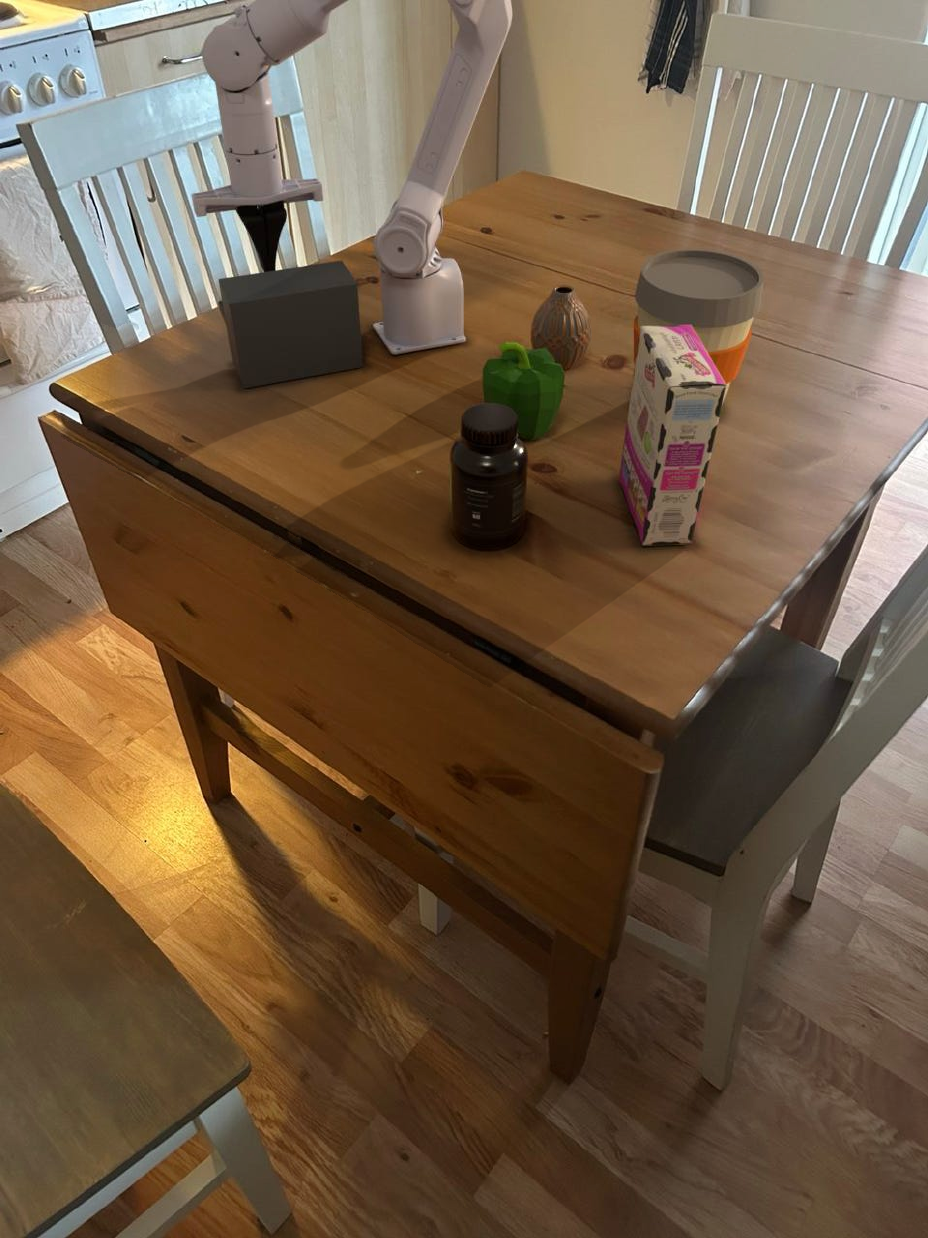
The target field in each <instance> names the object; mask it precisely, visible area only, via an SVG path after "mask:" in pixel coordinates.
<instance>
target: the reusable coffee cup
mask: <svg viewBox="0 0 928 1238" xmlns="http://www.w3.org/2000/svg"><path fill="white" fill-rule="evenodd" d="M763 287H764V275H763V273H762V271H761V270H760V268H758V266H756V264H753V263H752V262H750V261H749V260H747V259H745V258H742V257H740V256H737V255H734V254H732V253H726V252H723V251H718V250H712V249H702V248H701V249H700V248H683V249H682V248H681V249H673V250H667V251H663V252H659V253H656V254H654V255H652V256H650V257H648V258H647V259H646V260H644V262H643V263H642V265H641V269H640V272H639V276H638V281H637V284H636V288H635V294H634V299H635V302H636V303H637V315H636V316H635V318H634V320H633V321H634V322H633V363H634V366H635V365H636V358H637V352H638V343H639V337H640V327H641V326H660V325H692V327H693V328H694V330H695V332H696V334H697V335H698V337H699V339H700V340H701V342H702V344H703V346H704V347H705V349H706V351H707V352H708V354H709V356H710V358H711V359H712V361H713V363H714V365H715V366H716V368H717V369H718V371H719V373H720V374H721V376H722V378H723V379H724V381H725V383H726V385H727V386H726V389H725V394H724V398H723V403H722V405H724V402H725V399H726V396H727V393H728V390H729V388H730V385H731V382H733V381H734V380H735V379H736V378H737V376H738V373H739V371H740V369H741V367H742V363H743V360H744V358H745V355H746V352H747V350H748V347H749V344H750V341H751V338H752V334H753V331H752V328H751V327H752V323H753V321H754V318H755V316H756V315H758V314H759V312H760V310H761V306H762V297H763Z"/></svg>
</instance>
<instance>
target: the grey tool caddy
mask: <svg viewBox="0 0 928 1238" xmlns="http://www.w3.org/2000/svg"><path fill="white" fill-rule="evenodd" d="M218 286H219V291H220V296H221V300H218V301H217V305H218V309H219V311H220V314H221V316H222V318H223V321H224V323H225V325H226V331H227V335H228V336H227V337H228V342H229V349H230V353H231V359H232V360H231V361H232V364H233V366H234V369H235V371H236V373H237V376H238V378H239V381H240V383H241V385H242V388H243V389H249V388H255V387H260V386H266V385H271V384H277V383H282V382H288V381H293V380H299V379H304V378H310V377H316V376H320V375H321V376H322V375H327V374H333V373H337V372H342V371H348V370H354V369H361V368H364V361H363V350H362V349H363V347H362V346H363V345H362V332H361V319H360V304H359V303H360V302H359V301H360V300H359V290H358V289H359V287H358V282H357V281H356V279H355V278H354V277H353V275H352V273H351V272H350V271H349V269H348V267H347V266H346V265H345V263H344V262H343V260H335V261H330V262H329V261H328V262H324V263H316V264H309V265H302V266H296V267H289V268H283V269H276V270H275V271H269V272H264V271H263V272H255V273H250V274H244V275H243V274H241V275H236V276H229V277H222V278H218Z"/></svg>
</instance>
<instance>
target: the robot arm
mask: <svg viewBox="0 0 928 1238" xmlns="http://www.w3.org/2000/svg"><path fill="white" fill-rule="evenodd" d="M348 1H349V0H254V1H253V2H251V3H250V4H248V5H246V3H244V2H243V3H241V4H239V5H238V6H236V7H235V8H234V9H233V13H234V15H235V16H233V17H231V18H229V19H228V20H226V21H225V22H223V23H221V24H218V25H215V26H214V27H213V28H212V30H211V31H210V33H209V34H208V35H207V36H206V38H204V41H203V44H202V49H201V57H202V58H201V59H202V63H203V66H204V69H205V71H206V73H207V75H208V76H209V77H210V80H212V81H213V83H214V84H215V85H214V86H215V91H216V97H217V105H218V111H219V119H220V124H221V130H222V138H223V144H224V149H225V156H226V162H227V163H226V164H227V168H228V169H227V170H228V175H229V181H230V184H228V185H225V186H224V185H223V186H221V187H217V188H213V189H209V190H205V191H200V192H193V193H190V194H191V200H192V206H193V211H194V213H195V215H196V217H197V218H201V217H206V216H207V215H208V214H215V213H222V212H230V211H235V213H236V214H237V216H238V218H239V220H240V222H241V223H242V225H243V226H244V228H245V229H246V231H247V232H248V235H249V237H250V239H251V241H252V243H253V246H254V249H255V251H256V254H257V256H258V260H259V264H260V268H261V269H262V271H263V272H269V271H275V270H277V269H276V267H277V255H278V254H277V253H278V248H279V244H280V239H281V237H282V233H283V230H284V227H285V224H286V222H287V219H288V212H287V211H288V210H287V209H286V208H285V204H291V203H292V204H293V203H297V202H298V203H300V202H307V201H313V202H316V203H317V202H323V201H324V192H323V191H324V190H323V182H321V181H320V179H319V178H295V179H294V178H293V179H291V178H288V179H283V178H282V169H281V162H280V161H281V160H280V152H279V143H278V136H277V129H276V120H275V119H276V118H275V112H274V104H273V98H272V92H271V83H270V75H269V72H270V70H271V68H272V67H276V66H279V65H280V64H282V63H283V62H285V61H287V60H288V59H290V58H292V57H293V56H294V55H296V54H297V53H299V52H300V51H302V50H303V49H304V48H306V47H308V46H309V45H311V44H312V43H313V42H315V41H317V40H319V39H320V38H321V37H323V36H324V35H326V33H327V31H328V29H329V22H330V16H331V13H332V11H334V10H335V9H337V8H339V7H340V6H342V5H343V4H345V3H346V2H348ZM447 2H448V4H449V7H450V9H451V11H452V13H453V16H454V18H455V20H456V22H457V26H458V32H457V34H456V37H455V39H454V43H453V46H452V48H451V51H450V54H449V57H448V59H447V63H446V66H445V68H444V71H443V74H442V77H441V80H440V82H439V86H438V88H437V91H436V94H435V97H434V99H433V103H432V105H431V109H430V111H429V114H428V117H427V119H426V122H425V125H424V127H423V128H424V129H423V131H422V134H421V137H420V139H419V142H418V145H417V148H416V151H415V153H414V154H415V155H414V156H413V159H412V162H411V166H410V168H409V171H408V174H407V177H406V179H405V182H404V184H403V187H402V189H401V191H400V194H399V197H398V198H397V199H396V200H395V201H394V202H393V204H392V206H391V208H390V211H389V214H388V216H387V217H386V219H385V221H384V223H383V224H382V225H381V227H379V228H378V230H377V232H376V233H375V236H374V239H373V252H374V255H375V258H376V260H377V262H378V264H379V276H380V277H379V278H380V280H379V281H380V292H381V311H382V321H379V322H375V323H373V324H372V327H373V329H374V331H375V332H376V334H377V335H378V337H379V338H380V340H381V341H382V343H383V344H384V346H385V347H386V348H387V351H388V352H389V353H390V354H391V355H401V354H406V353H407V354H408V353H412V352H418V351H423V350H428V349H429V350H430V349H433V348H434V349H435V348H440V347H447V346H451V345H457V344H462V343H465V342H466V341H467V339H466V336H465V334H464V333H465V331H464V327H465V326H464V324H465V323H464V322H465V321H464V316H465V315H464V308H465V307H464V302H465V300H464V299H465V298H464V295H465V294H464V293H465V292H464V291H465V290H464V282H463V276H462V273H461V269H460V267H459V265H458V263H457V261H456V260H455V259H454V258H452V257H446V258H443V257H442V256H440V252H439V251H438V248H437V246H435V245H436V244H435V243H436V242H437V240H438V239H439V237H440V236H441V234H442V231H443V228H444V217H443V207H444V203H445V200H446V197H447V195H448V191H449V188H450V184H451V182H452V180H453V177H454V174H455V171H456V170H457V167H458V164H459V162H460V158H461V156H462V153H463V151H464V149H465V145H466V143H467V140H468V138H469V135H470V133H471V130H472V127H473V125H474V122H475V120H476V117H477V114H478V112H479V109H480V106H481V104H482V102H483V99H484V96H485V93H486V91H487V88H488V87H489V84H490V81H491V78H492V75H493V73H494V71H495V68H496V65H497V62H498V60H499V58H500V54H501V52H502V49H503V47H504V45H505V42H506V39H507V37H508V34H509V31H510V29H511V26H512V21H513V5H512V0H447Z"/></svg>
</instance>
